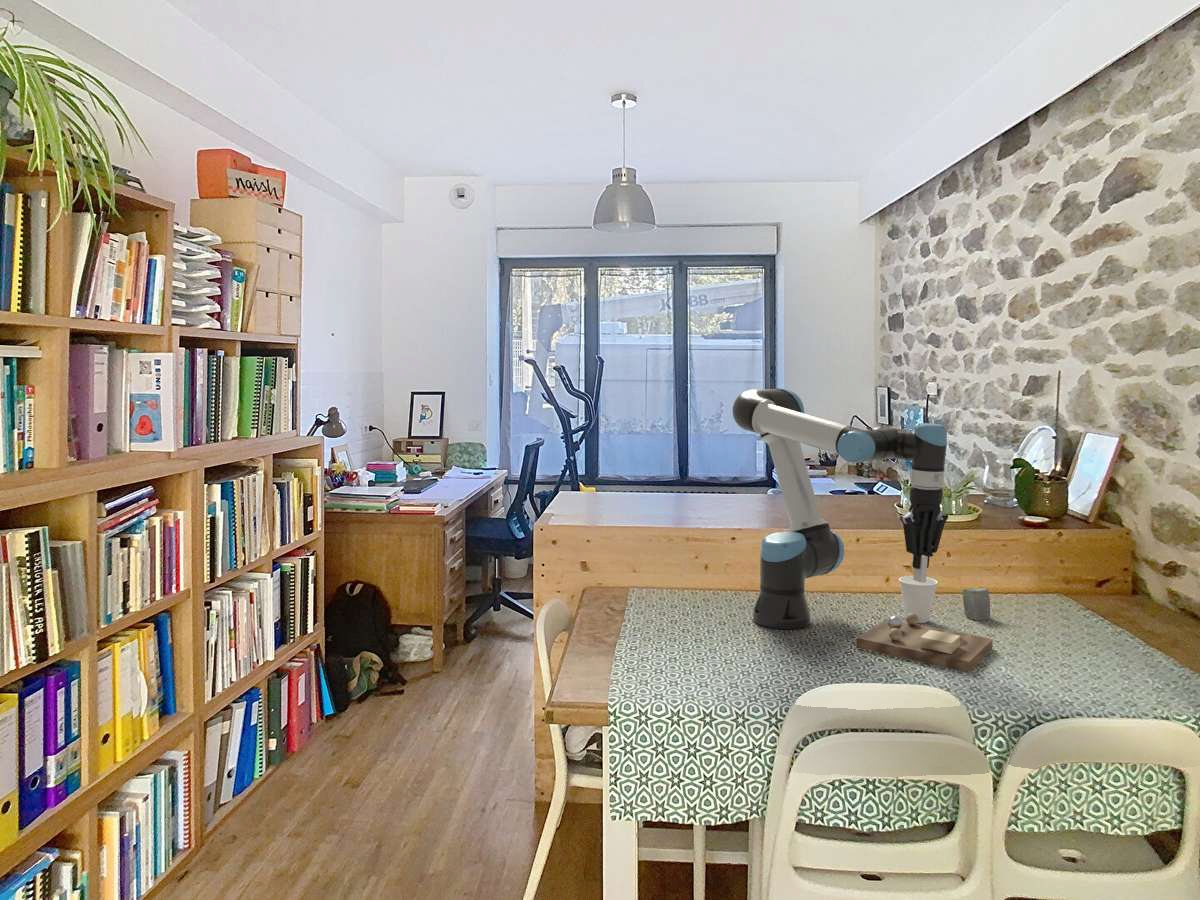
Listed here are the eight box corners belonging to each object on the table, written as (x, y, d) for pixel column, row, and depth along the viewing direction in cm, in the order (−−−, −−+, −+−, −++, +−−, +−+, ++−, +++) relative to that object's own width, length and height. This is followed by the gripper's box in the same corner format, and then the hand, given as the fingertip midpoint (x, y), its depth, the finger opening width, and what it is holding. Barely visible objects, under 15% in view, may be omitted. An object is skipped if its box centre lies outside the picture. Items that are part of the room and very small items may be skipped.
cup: (939, 626, 220) (941, 586, 219) (900, 624, 222) (901, 584, 221) (932, 615, 230) (934, 576, 229) (894, 613, 232) (896, 574, 231)
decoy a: (886, 640, 201) (887, 628, 201) (891, 637, 203) (891, 625, 203) (899, 643, 199) (899, 631, 199) (903, 640, 202) (904, 628, 201)
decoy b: (904, 625, 213) (904, 613, 213) (908, 622, 216) (908, 610, 215) (916, 627, 212) (916, 615, 211) (919, 624, 214) (920, 613, 214)
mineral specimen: (997, 614, 229) (996, 587, 227) (979, 626, 225) (978, 598, 223) (972, 606, 235) (971, 580, 233) (954, 618, 231) (953, 591, 229)
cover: (919, 647, 196) (920, 637, 195) (929, 639, 201) (929, 629, 201) (950, 653, 191) (951, 643, 191) (959, 645, 197) (960, 635, 196)
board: (856, 647, 204) (856, 637, 203) (885, 627, 219) (886, 618, 219) (968, 672, 187) (969, 661, 187) (992, 649, 203) (992, 639, 203)
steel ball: (885, 630, 209) (885, 616, 209) (890, 626, 212) (890, 613, 212) (899, 633, 207) (899, 619, 207) (904, 629, 210) (904, 616, 209)
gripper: (915, 490, 198) (908, 587, 201) (959, 488, 202) (951, 583, 205) (894, 485, 205) (887, 578, 208) (936, 483, 209) (929, 574, 212)
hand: (919, 580), depth 207 cm, fingers closed
